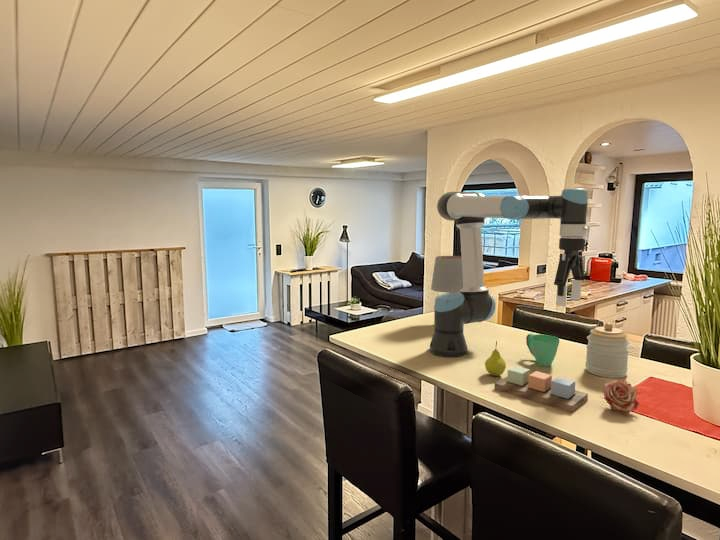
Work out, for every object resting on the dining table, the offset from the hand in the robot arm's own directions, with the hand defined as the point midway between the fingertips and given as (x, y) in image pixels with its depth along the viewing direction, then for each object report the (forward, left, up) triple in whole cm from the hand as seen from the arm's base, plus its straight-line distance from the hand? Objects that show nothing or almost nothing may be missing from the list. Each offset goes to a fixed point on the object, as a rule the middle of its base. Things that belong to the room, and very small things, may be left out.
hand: (568, 302), depth 145 cm
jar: (+7, +18, -27) cm, 33 cm away
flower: (+20, -12, -27) cm, 36 cm away
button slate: (+6, -17, -25) cm, 30 cm away
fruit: (-19, -12, -27) cm, 35 cm away
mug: (-14, +12, -27) cm, 33 cm away
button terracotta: (-1, -17, -25) cm, 30 cm away
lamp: (-71, +36, -27) cm, 84 cm away
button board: (-1, -17, -27) cm, 31 cm away
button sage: (-8, -17, -24) cm, 31 cm away
